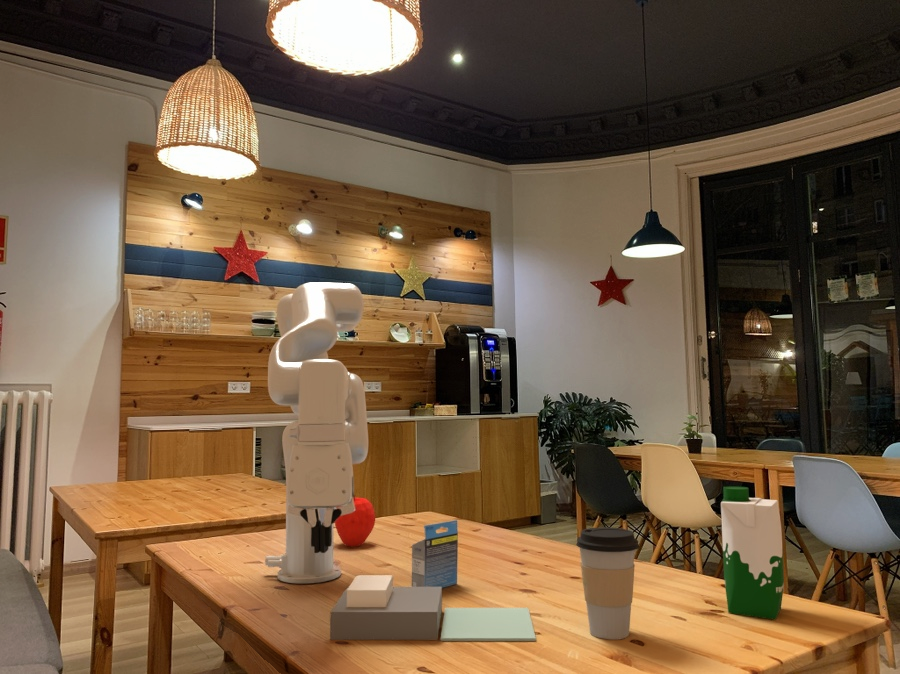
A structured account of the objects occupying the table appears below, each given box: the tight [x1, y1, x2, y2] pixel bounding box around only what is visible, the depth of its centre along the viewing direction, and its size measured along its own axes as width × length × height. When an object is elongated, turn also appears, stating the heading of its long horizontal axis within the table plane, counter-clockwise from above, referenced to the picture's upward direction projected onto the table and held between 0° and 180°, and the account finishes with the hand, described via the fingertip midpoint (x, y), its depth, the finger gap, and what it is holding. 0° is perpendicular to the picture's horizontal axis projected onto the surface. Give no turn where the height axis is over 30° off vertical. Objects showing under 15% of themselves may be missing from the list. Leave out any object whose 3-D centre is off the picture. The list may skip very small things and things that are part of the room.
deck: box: [329, 586, 443, 641], centre depth 110 cm, size 16×14×4 cm
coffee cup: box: [575, 526, 640, 641], centre depth 106 cm, size 9×9×15 cm
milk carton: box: [720, 485, 785, 620], centre depth 116 cm, size 9×9×20 cm
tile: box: [347, 574, 394, 607], centre depth 111 cm, size 6×9×2 cm, turn 178°
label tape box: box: [411, 519, 459, 589], centre depth 132 cm, size 9×4×12 cm, turn 135°
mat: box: [440, 607, 537, 642], centre depth 110 cm, size 14×15×1 cm
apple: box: [334, 494, 376, 548], centre depth 171 cm, size 10×10×12 cm
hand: (321, 551), depth 111 cm, fingers closed
